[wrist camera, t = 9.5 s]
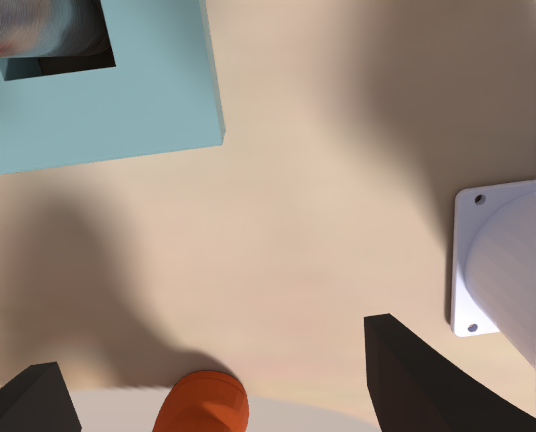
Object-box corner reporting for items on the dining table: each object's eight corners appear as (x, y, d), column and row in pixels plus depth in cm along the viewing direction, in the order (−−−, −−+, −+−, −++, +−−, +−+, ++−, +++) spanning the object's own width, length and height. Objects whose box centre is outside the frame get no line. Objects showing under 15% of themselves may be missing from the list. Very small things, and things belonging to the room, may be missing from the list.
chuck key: (44, -22, 16) (-232, -122, 7) (115, -15, 16) (-58, -104, 7) (51, 52, 17) (-185, 54, 8) (118, 58, 17) (-31, 66, 8)
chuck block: (179, -158, 15) (165, -207, 12) (225, 131, 18) (222, 145, 16) (-109, -121, 15) (-192, -161, 12) (-7, 161, 18) (-52, 181, 16)
